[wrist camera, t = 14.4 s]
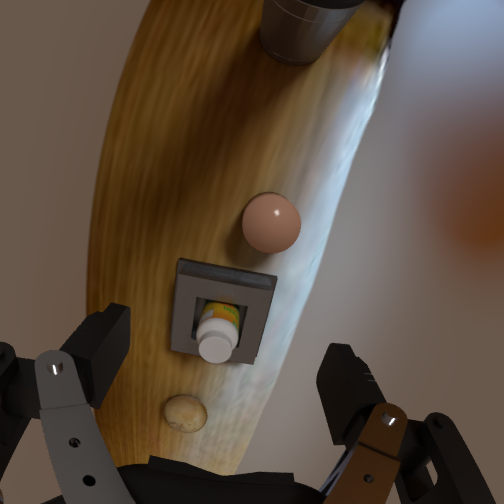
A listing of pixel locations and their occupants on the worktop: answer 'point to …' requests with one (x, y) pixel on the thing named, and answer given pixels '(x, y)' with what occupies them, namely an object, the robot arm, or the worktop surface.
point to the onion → (185, 413)
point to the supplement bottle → (218, 331)
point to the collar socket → (225, 290)
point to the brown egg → (270, 222)
